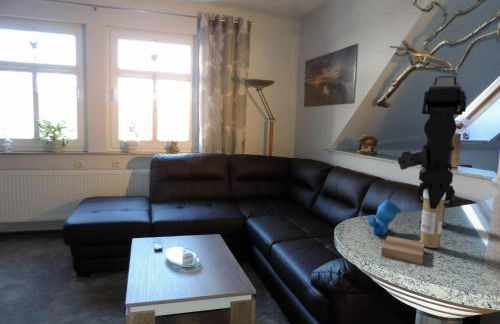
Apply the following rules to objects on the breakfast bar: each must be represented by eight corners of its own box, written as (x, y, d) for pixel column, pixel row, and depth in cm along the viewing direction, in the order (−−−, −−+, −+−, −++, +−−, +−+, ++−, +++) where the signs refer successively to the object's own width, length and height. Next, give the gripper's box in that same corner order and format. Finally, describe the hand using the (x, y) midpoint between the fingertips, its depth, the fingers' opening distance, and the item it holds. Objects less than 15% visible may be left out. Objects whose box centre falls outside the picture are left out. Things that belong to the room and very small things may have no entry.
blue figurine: (363, 210, 85) (373, 192, 94) (362, 239, 88) (373, 219, 97) (394, 215, 81) (401, 196, 90) (392, 246, 84) (400, 224, 93)
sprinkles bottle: (445, 247, 77) (450, 192, 75) (427, 248, 77) (432, 192, 75) (431, 240, 82) (436, 187, 80) (415, 241, 81) (419, 188, 79)
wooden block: (387, 243, 80) (387, 235, 80) (424, 250, 76) (424, 242, 76) (381, 256, 73) (381, 247, 73) (421, 264, 69) (422, 255, 68)
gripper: (405, 138, 88) (400, 195, 90) (396, 140, 72) (391, 209, 74) (454, 140, 82) (448, 200, 84) (456, 143, 66) (448, 218, 68)
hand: (433, 206), depth 78 cm, fingers closed on sprinkles bottle, 4 cm apart
